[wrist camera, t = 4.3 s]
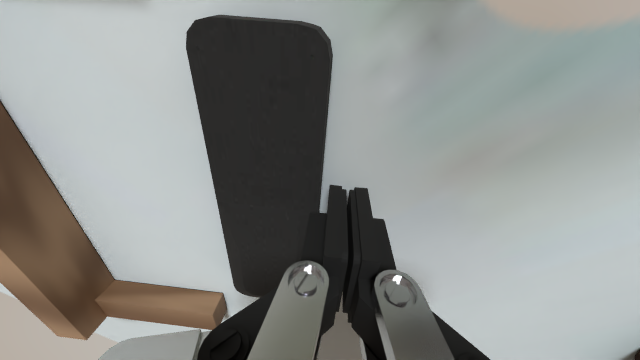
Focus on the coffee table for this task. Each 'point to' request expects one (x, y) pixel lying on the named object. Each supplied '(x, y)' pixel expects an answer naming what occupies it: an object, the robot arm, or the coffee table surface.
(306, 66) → the remote control
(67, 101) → the coffee table surface
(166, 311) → the walnut frame
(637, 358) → the coffee mug
